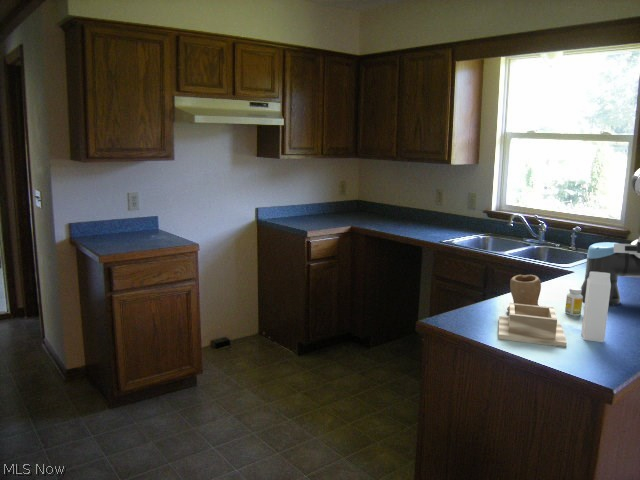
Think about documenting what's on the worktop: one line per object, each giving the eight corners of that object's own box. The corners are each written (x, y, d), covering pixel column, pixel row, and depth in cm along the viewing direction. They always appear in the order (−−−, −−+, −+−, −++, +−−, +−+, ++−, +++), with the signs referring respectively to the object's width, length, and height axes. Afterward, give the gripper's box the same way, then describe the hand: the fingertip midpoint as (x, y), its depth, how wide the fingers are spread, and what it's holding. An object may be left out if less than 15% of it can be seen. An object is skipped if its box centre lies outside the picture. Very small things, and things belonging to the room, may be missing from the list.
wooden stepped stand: (498, 319, 192) (500, 299, 191) (560, 326, 186) (562, 305, 185) (498, 338, 174) (500, 316, 172) (566, 347, 168) (568, 324, 166)
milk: (581, 334, 180) (587, 269, 176) (601, 336, 178) (608, 270, 174) (583, 340, 174) (590, 273, 170) (604, 342, 172) (612, 275, 168)
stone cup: (502, 315, 197) (505, 275, 194) (511, 308, 207) (514, 269, 204) (545, 324, 189) (550, 282, 186) (553, 315, 198) (557, 276, 196)
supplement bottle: (563, 313, 201) (566, 288, 199) (566, 310, 205) (569, 285, 203) (579, 316, 197) (581, 291, 196) (582, 313, 202) (584, 288, 200)
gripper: (691, 263, 145) (606, 259, 161) (713, 265, 162) (635, 261, 178) (692, 235, 145) (607, 234, 161) (714, 240, 162) (636, 238, 178)
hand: (622, 248), depth 169 cm, fingers open, 13 cm apart
